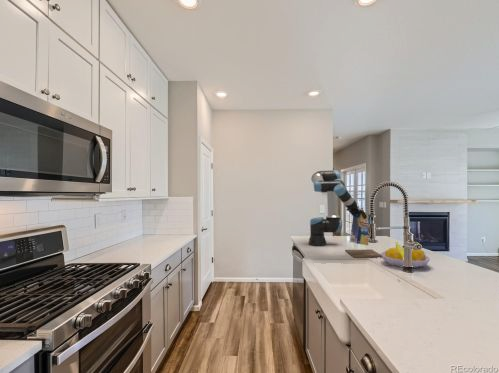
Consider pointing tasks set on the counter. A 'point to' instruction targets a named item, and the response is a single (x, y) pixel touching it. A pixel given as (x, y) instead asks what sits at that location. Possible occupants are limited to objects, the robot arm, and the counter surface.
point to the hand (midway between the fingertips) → (366, 224)
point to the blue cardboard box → (360, 229)
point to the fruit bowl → (397, 256)
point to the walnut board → (363, 253)
